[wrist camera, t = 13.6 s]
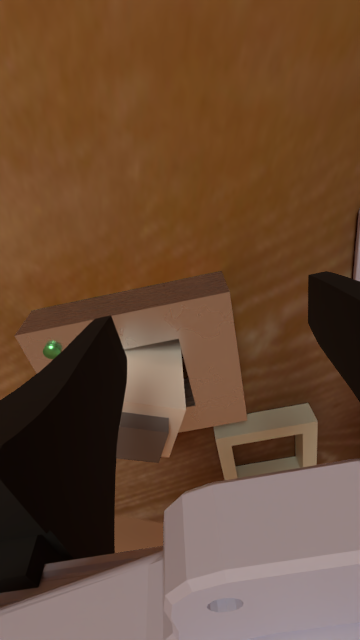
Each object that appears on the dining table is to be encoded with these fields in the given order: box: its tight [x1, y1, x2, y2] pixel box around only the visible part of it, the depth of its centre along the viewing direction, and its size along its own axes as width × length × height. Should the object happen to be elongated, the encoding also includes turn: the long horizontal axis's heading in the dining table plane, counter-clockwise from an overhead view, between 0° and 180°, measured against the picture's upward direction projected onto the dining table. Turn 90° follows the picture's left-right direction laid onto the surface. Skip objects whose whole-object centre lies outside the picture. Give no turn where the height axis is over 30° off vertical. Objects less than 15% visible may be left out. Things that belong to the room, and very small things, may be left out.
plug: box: [116, 339, 186, 463], centre depth 21 cm, size 4×4×8 cm
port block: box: [15, 271, 247, 433], centre depth 23 cm, size 13×11×3 cm
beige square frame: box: [213, 403, 318, 480], centre depth 29 cm, size 8×8×2 cm
